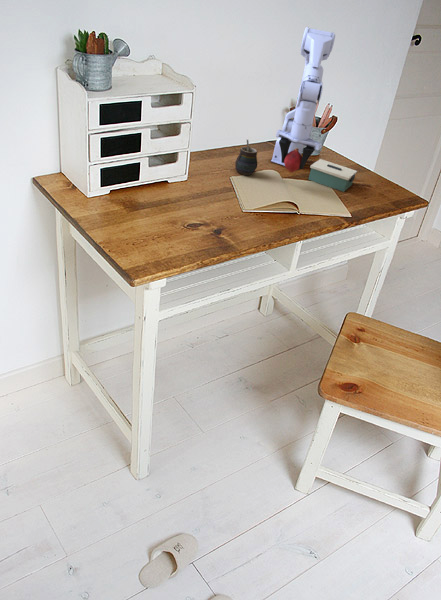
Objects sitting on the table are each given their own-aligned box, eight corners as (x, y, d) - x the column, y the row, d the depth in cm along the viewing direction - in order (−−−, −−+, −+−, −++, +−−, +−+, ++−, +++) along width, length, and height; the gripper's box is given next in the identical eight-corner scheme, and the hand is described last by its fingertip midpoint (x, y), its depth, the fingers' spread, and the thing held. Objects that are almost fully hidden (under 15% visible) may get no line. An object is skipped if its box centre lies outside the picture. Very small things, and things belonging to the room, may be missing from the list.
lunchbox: (305, 179, 189) (310, 163, 186) (315, 172, 196) (319, 157, 193) (345, 192, 184) (350, 177, 181) (354, 185, 192) (358, 169, 189)
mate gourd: (238, 177, 180) (244, 147, 175) (229, 168, 186) (235, 138, 180) (258, 177, 183) (264, 147, 178) (249, 168, 189) (255, 139, 183)
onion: (293, 177, 175) (299, 152, 171) (278, 171, 178) (284, 146, 173) (302, 173, 179) (308, 149, 175) (287, 167, 182) (293, 143, 178)
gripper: (276, 118, 169) (266, 161, 177) (319, 132, 164) (308, 175, 172) (285, 114, 174) (275, 156, 182) (327, 127, 170) (316, 169, 177)
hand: (292, 165), depth 177 cm, fingers closed on onion, 6 cm apart
